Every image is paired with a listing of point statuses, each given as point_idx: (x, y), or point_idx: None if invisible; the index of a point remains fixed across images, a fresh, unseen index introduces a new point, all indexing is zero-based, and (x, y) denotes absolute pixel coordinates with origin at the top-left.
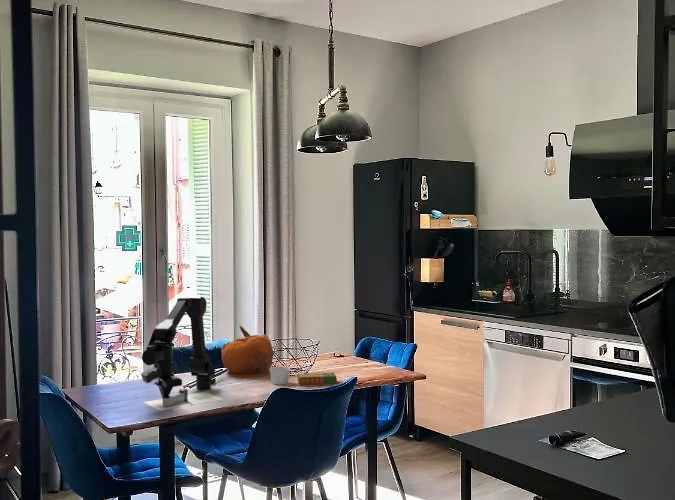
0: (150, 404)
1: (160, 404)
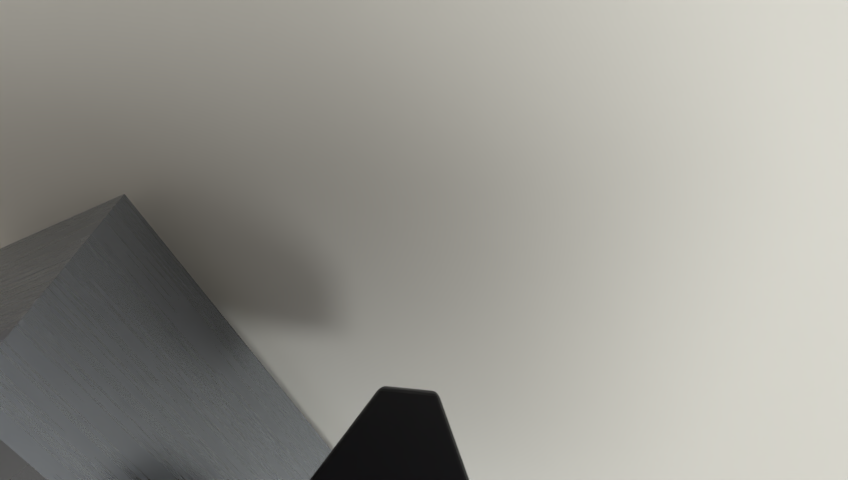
0: (795, 51)
1: (507, 275)
